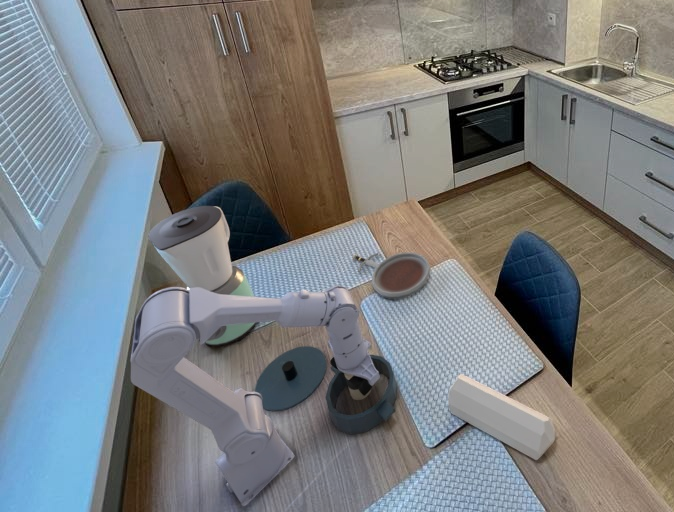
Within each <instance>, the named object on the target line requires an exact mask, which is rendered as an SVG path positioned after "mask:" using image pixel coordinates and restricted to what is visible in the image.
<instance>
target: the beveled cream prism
mask: <svg viewBox="0 0 674 512" xmlns="http://www.w3.org/2000/svg"><path fill="white" fill-rule="evenodd" d="M447 397H448V399H447V401H448V403H447V404H448V406H449V411H450V414H452V415H453V416H455V417H456V418H458V419H461V420H462V421H464V422H466V423H468V424H470V425H471V426H473V427H475V428H477V429H479V430H480V431H482V432H484V433H486V434H488V435H490V436H492V437H493V438H495V439H497V440H498V441H501V442H502V443H504V444H505V445H508V446H510V447H511V448H513V449H515V450H517V451H518V452H520V453H522V454H524V455H525V456H528V457H529V458H532V459H533V460H535V461H539V459H540V458H541V457H542V456H543V455H544V454H545V453H546V452H547V451H548V449H549V448H550V447H551V446H552V445H553V443H554V442H555V440H556V429H555V424H554V420H553V419H552V418H551V417H550V416H547V415H546V414H544V413H541V412H540V411H537V410H536V409H533V408H531V407H529V406H528V405H525V404H523V403H521V402H519V401H517V400H515V399H513V398H511V397H510V396H507V395H505V394H504V393H501V392H499V391H498V390H495V389H493V388H491V387H489V386H488V385H486V384H483V383H481V382H479V381H477V380H475V379H473V378H471V377H469V376H467V375H465V374H462V373H460V374H459V375H458V376H456V379H454V381H453V383H452V385H451V386H450V387H449V390H448V395H447Z"/></svg>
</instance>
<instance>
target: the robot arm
mask: <svg viewBox="0 0 674 512" xmlns="http://www.w3.org/2000/svg"><path fill="white" fill-rule="evenodd" d="M186 288H187V287H186ZM186 288H185V287H181V286H169V287H165V288H161V289H160V290H159V289H158V290H157V291H155V292H154V293H152V294H151V295H150V296H148V297H147V298H146V299H145V300H144V302H143V303H142V305H141V307H140V309H139V311H138V312H137V315H136V316H135V320H134V328H133V329H134V330H133V337H132V346H131V353H130V361H129V362H130V382H131V383H132V384H133V385H134V386H135V387H137V388H139V389H141V390H142V391H144V392H145V393H147V394H149V395H151V396H152V397H154V398H156V399H157V400H159V401H161V402H163V403H164V404H166V405H168V406H169V407H171V408H173V409H175V410H176V411H178V412H180V413H181V414H183V415H185V416H186V417H188V418H190V419H192V420H193V421H194V422H197V423H199V424H200V425H202V426H204V427H205V428H207V429H209V430H210V431H211V433H212V435H213V437H214V440H215V442H216V445H217V447H218V449H219V451H221V452H222V454H221V455H220V456H219V457H218V458H217V460H216V461H215V465H216V466H217V468H218V469H219V471H220V472H221V474H222V475H223V477H224V479H225V481H226V482H227V483H226V484H225V485H226V488H227V489H228V490H229V492H230V493H234V495H235V496H236V498H237V499H238V501H239V502H240V504H241V506H242V507H245V506H247V505H249V503H251V501H252V500H253V499H254V498H255V497H256V496H257V495H258V494H259V493H260V492H261V491H262V490H263V489H264V488H265V487H266V486H267V485H268V484H269V483H270V482H272V480H273V479H275V477H277V475H278V474H280V473H281V472H282V471H283V470H284V468H286V467H287V466H288V465H289V464H290V462H292V461H293V459H294V458H295V454H294V452H293V451H292V450H291V448H290V447H289V446H288V445H287V444H286V442H285V441H284V440H283V438H282V437H281V436H280V435H279V433H278V431H277V429H276V426H275V425H274V423H273V420H272V419H271V417H269V416H268V415H266V414H265V411H264V408H263V405H262V401H263V399H262V396H261V394H260V393H258V392H255V391H249V390H245V389H244V388H242V387H240V388H237V389H235V390H231V389H230V388H228V387H227V386H226V385H224V384H223V383H221V382H220V381H218V380H217V379H216V378H215V377H213V376H211V375H210V374H208V373H207V372H206V371H204V370H203V369H201V368H200V367H198V366H197V365H196V364H194V363H193V362H192V361H190V360H188V359H187V358H186V356H187V355H188V354H189V352H190V351H191V350H192V348H193V347H194V346H195V344H196V341H197V340H198V343H199V344H198V345H199V346H203V345H204V344H206V343H205V342H206V341H207V340H208V339H209V338H210V337H211V336H212V335H213V334H214V333H215V332H216V331H217V330H218V329H219V328H220V327H222V326H226V325H236V324H246V323H256V322H257V323H265V322H277V323H278V325H279V326H280V327H281V328H283V329H284V328H286V329H288V328H311V327H325V329H326V331H327V335H328V338H329V339H328V340H327V341H326V343H327V345H328V348H329V349H330V350H331V352H332V357H331V359H330V361H329V363H330V365H331V366H333V367H334V368H335V369H338V370H340V372H341V373H342V374H343V376H344V377H345V375H344V373H347V374H351V375H354V376H353V377H352V378H350V379H349V382H350V383H351V384H352V385H353V386H355V387H356V388H358V389H359V391H360V393H361V394H362V395H364V396H365V395H366V394H367V393H368V392H369V391H370V390H371V389H372V390H373V386H374V385H375V384H376V383H377V382H378V381H379V380H380V379H381V377H380V373H379V372H378V371H377V369H378V364H377V362H375V361H374V360H371V357H370V355H371V354H370V352H369V349H370V348H371V347H372V346H371V342H370V341H368V340H367V339H364V335H363V333H362V328H361V324H360V320H359V317H360V310H358V307H357V305H356V303H355V301H354V299H353V297H352V295H351V293H350V291H349V290H348V288H346V286H342V285H339V284H338V285H337V284H336V285H334V286H331V287H329V288H327V289H324V290H320V291H309V290H308V289H300V290H299V291H289V292H286V293H285V294H284V295H282V297H280V298H276V297H275V298H274V297H261V296H255V297H250V296H237V295H223V294H217V293H214V292H211V291H208V290H205V289H203V288H200V287H195V288H189V290H188V289H186ZM257 323H256V324H257ZM372 390H371V391H372ZM251 496H252V497H251Z"/></svg>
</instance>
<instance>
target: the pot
mask: <svg viewBox="0 0 674 512" xmlns="http://www.w3.org/2000/svg"><path fill="white" fill-rule="evenodd" d="M369 355H370V357H371V360H374V361H375V362H377V364H378V369H377V371H378V372H379V374H383V375H384V376H385V377H386V378H388V386H387V388H386V390H385V392H384V394H383V395H382V397H381V398H380V399H379V400H378V401H377V402H376V403H375V404H374V405H373V406H371V407H370V408H368V409H366V410H365V411H363V412H361V413H356V414H350V415H349V414H345V413H341V412H339V411H337V409H336V407H337V406H336V405H337V401H338V398H339V396H340V394H341V393H342V391H343V390H344V388H345V387H346V386H348V385H347V381H346V378H345V377H344V376H343V374H342V373H341V372H340V370H338V369H335V368H334V367H333V366H332V365H331V366H330V370H331V371H332V372H333V373H334V375H333V377H332V379H331V380H330V381H329V383H328V386H327V389H326V393H325V402H326V407H327V411H328V414H329V416H330V418H331V421H332V423H333V425H334V426H335V427H336V428H337V429H338V430H339V431H340V432H343V433H347V434H350V435H356V434H361V433H365V432H368V431H370V430H372V429H374V428H375V427H377V426H378V425H380V424H381V423H382V422H383V421H385V422H388V420H389V419H390V418H391V417H392V416H393V415H394V413H395V412H396V408H395V407H394V404H395V403H396V400H397V394H398V393H397V391H398V386H397V385H398V384H397V380H396V376H395V374H394V370H393V367H392V365H391V362H389V361H388V360H387V359H386V358H384V357H383V356H382V355H376V354H369Z"/></svg>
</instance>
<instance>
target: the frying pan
mask: <svg viewBox="0 0 674 512" xmlns="http://www.w3.org/2000/svg"><path fill="white" fill-rule="evenodd" d="M377 256H379V253H378V252H376V253H373V254H371V255H369V256H368V257H367V258H363V257H362V256H359V255H358V254H357V253H356V254H353V255H352V259H353V260H354V261H355V260H357V261H360V262H361V263H360V264H359V266H358V269H357V271H358V273H360V272H361V270H362V269H361V268H362V267H363V266H364V265H368V266H370V267H373V268H375V269H374V271H373V273H372V276H371V286H372V287H373V289H374V291H375V292H377V293H378V294H379V295H381V296H382V297H383V298H385V299H390V300H401V299H405V298H409V297H411V296H413V295H415V294H417V293H418V292H419V291H420V290H421V289H423V288H424V286H425V285H426V283H427V282H428V279H429V277H430V274H431V264H430V262H429V261H428V260H427V258H426V257H425V256H424V255H421V254H420V253H416V252H412V251H408V252H405V251H404V252H399V253H395V254H393V255H390V256H388V257H386V258H385V259H383V260H382V261H381V262H380V263H378V262H375V261H373V260H371V259H372V258H374V257H377Z"/></svg>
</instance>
